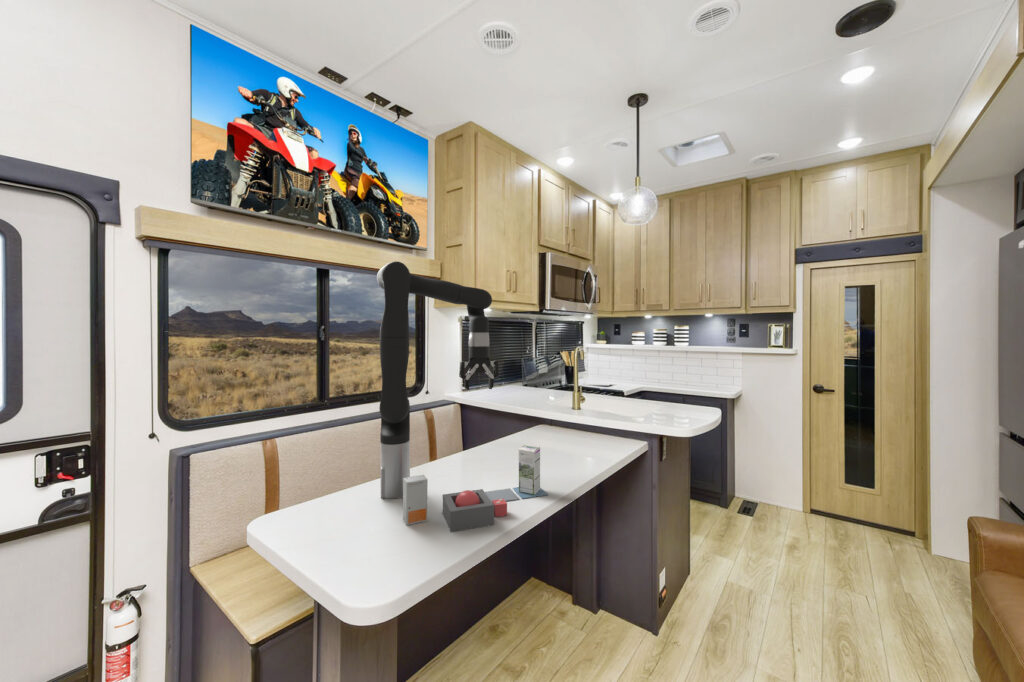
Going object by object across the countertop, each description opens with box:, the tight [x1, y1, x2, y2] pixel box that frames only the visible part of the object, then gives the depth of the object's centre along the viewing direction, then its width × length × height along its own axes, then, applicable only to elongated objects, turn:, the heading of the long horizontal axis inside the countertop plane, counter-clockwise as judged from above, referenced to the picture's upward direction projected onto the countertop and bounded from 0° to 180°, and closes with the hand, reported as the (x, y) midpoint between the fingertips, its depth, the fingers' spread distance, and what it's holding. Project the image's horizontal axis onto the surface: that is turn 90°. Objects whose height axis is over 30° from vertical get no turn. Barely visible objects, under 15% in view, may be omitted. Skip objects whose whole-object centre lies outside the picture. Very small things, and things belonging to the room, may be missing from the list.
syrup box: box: [518, 444, 541, 495], centre depth 134 cm, size 6×6×14 cm
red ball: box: [455, 490, 480, 507], centre depth 114 cm, size 7×7×7 cm
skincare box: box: [402, 474, 428, 526], centre depth 114 cm, size 6×4×12 cm
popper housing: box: [442, 488, 508, 533], centre depth 115 cm, size 17×12×6 cm
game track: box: [484, 486, 549, 502], centre depth 130 cm, size 30×9×1 cm, turn 110°
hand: (479, 389), depth 148 cm, fingers open, 8 cm apart
